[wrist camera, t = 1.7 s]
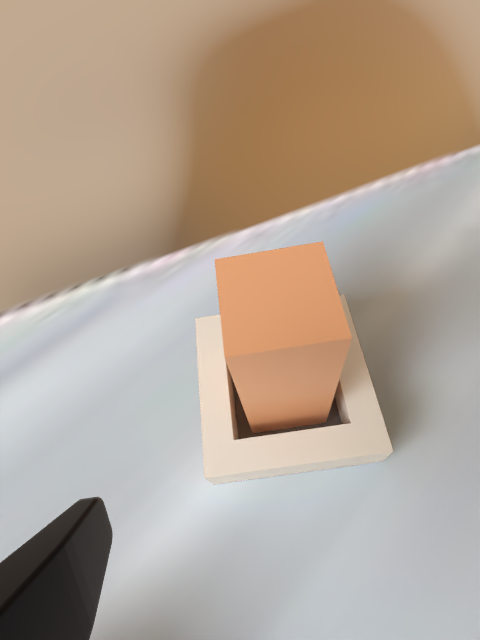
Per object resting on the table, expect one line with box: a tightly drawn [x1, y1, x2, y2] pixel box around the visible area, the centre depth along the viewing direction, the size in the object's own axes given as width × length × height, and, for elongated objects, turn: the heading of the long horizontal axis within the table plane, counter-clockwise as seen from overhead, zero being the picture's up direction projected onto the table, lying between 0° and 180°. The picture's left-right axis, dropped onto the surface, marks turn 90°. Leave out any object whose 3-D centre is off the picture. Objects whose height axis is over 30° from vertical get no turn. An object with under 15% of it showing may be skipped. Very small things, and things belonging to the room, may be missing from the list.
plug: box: [215, 242, 352, 433], centre depth 17 cm, size 4×4×10 cm
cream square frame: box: [195, 295, 394, 485], centre depth 20 cm, size 9×9×2 cm
